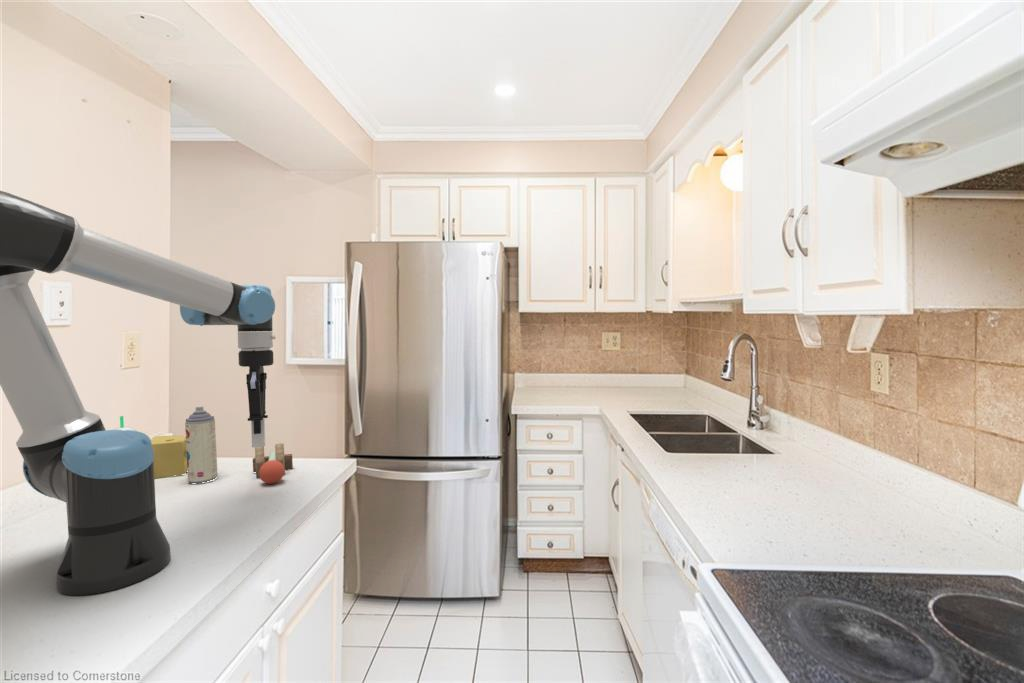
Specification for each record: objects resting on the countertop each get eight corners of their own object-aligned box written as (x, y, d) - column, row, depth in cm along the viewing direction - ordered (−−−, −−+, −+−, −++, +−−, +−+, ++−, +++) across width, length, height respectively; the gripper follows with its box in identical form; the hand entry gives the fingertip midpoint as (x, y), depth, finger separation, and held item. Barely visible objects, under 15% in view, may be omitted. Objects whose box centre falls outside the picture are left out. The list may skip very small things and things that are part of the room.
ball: (287, 464, 135) (281, 486, 132) (263, 461, 133) (256, 483, 130) (287, 459, 130) (280, 483, 127) (262, 456, 128) (255, 480, 125)
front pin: (273, 472, 133) (278, 450, 140) (264, 472, 132) (269, 450, 139) (274, 478, 134) (278, 455, 141) (265, 478, 133) (270, 456, 140)
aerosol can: (191, 478, 136) (187, 406, 135) (219, 474, 138) (216, 403, 137) (185, 485, 129) (181, 410, 128) (215, 482, 132) (211, 407, 131)
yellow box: (196, 465, 148) (194, 432, 148) (185, 476, 138) (183, 440, 138) (155, 470, 145) (153, 436, 145) (141, 481, 135) (138, 444, 134)
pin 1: (264, 477, 135) (263, 447, 134) (255, 478, 134) (254, 447, 133) (265, 475, 137) (264, 445, 136) (256, 476, 136) (255, 445, 136)
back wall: (292, 469, 142) (291, 455, 142) (253, 473, 139) (252, 459, 138) (292, 467, 144) (292, 453, 144) (254, 471, 141) (253, 457, 140)
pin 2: (284, 475, 136) (283, 445, 136) (275, 476, 135) (274, 445, 135) (285, 473, 138) (284, 443, 138) (276, 474, 138) (275, 444, 137)
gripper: (269, 350, 115) (272, 450, 116) (276, 348, 127) (278, 439, 128) (233, 351, 113) (236, 454, 113) (243, 349, 125) (246, 441, 125)
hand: (258, 446), depth 121 cm, fingers closed
